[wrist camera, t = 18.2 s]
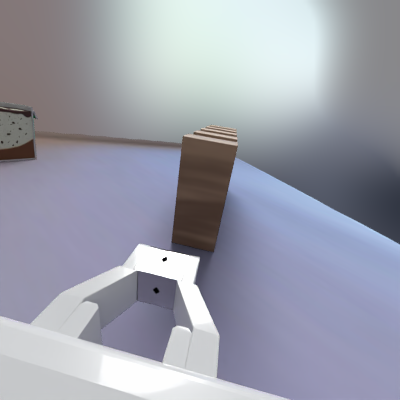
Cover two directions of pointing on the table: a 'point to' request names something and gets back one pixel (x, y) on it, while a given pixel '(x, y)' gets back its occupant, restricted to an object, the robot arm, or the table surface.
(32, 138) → the food container
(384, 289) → the table surface
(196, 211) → the domino
